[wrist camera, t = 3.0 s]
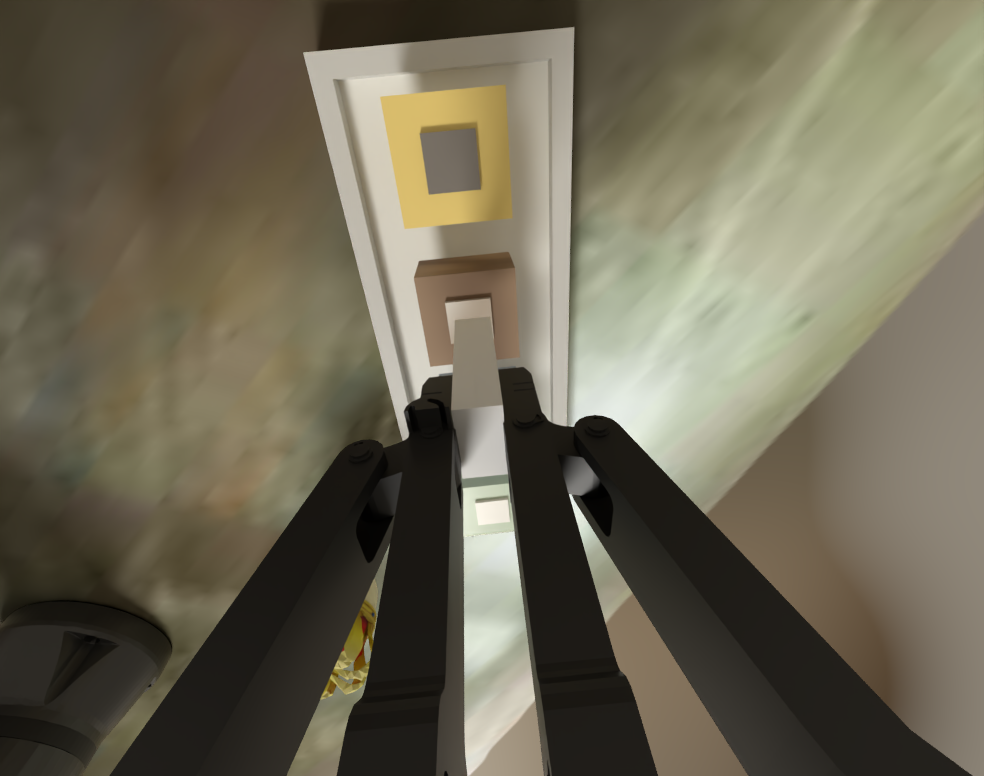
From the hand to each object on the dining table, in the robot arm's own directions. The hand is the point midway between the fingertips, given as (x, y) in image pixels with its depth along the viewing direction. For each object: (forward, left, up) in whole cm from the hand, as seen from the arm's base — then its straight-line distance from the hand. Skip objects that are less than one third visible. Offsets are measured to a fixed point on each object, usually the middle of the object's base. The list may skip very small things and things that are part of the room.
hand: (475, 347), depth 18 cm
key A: (0, +7, -6) cm, 9 cm away
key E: (0, -14, -6) cm, 15 cm away
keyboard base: (0, -4, -10) cm, 10 cm away
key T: (0, 0, -6) cm, 6 cm away
